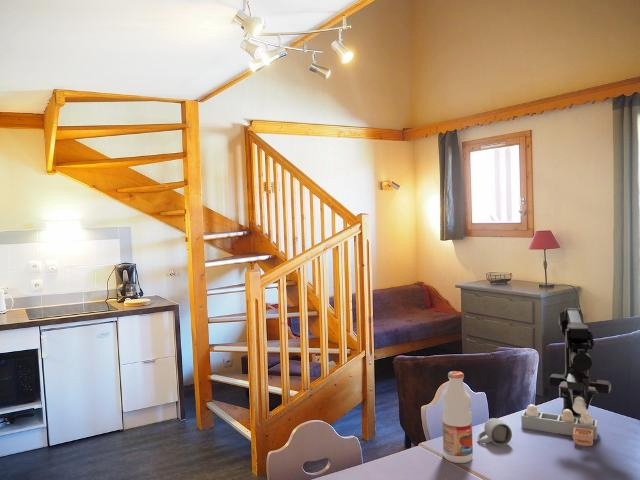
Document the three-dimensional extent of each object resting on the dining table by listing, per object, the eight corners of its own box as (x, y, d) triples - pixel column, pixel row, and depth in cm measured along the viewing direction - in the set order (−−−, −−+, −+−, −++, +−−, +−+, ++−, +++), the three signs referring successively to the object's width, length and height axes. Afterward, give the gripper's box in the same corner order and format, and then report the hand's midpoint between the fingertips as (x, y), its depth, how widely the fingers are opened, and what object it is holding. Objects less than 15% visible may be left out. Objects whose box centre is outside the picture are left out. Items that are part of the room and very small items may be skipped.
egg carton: (524, 421, 200) (524, 400, 199) (597, 432, 187) (597, 410, 187) (521, 427, 194) (521, 406, 194) (596, 439, 181) (596, 416, 181)
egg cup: (574, 437, 183) (574, 427, 183) (593, 440, 180) (593, 430, 180) (572, 444, 178) (572, 433, 178) (592, 447, 175) (592, 436, 175)
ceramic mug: (503, 435, 187) (502, 414, 187) (512, 445, 179) (512, 423, 179) (474, 438, 187) (473, 416, 186) (482, 447, 178) (481, 425, 178)
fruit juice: (447, 449, 178) (445, 367, 177) (475, 454, 173) (473, 370, 172) (439, 460, 170) (437, 375, 169) (468, 466, 165) (466, 378, 164)
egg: (574, 410, 182) (573, 394, 182) (588, 412, 180) (587, 396, 180) (571, 414, 179) (571, 397, 179) (585, 416, 176) (585, 400, 176)
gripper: (544, 364, 178) (544, 410, 178) (605, 372, 167) (606, 420, 167) (551, 357, 187) (552, 400, 187) (610, 364, 176) (611, 410, 176)
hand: (579, 407), depth 179 cm, fingers closed on egg, 4 cm apart
